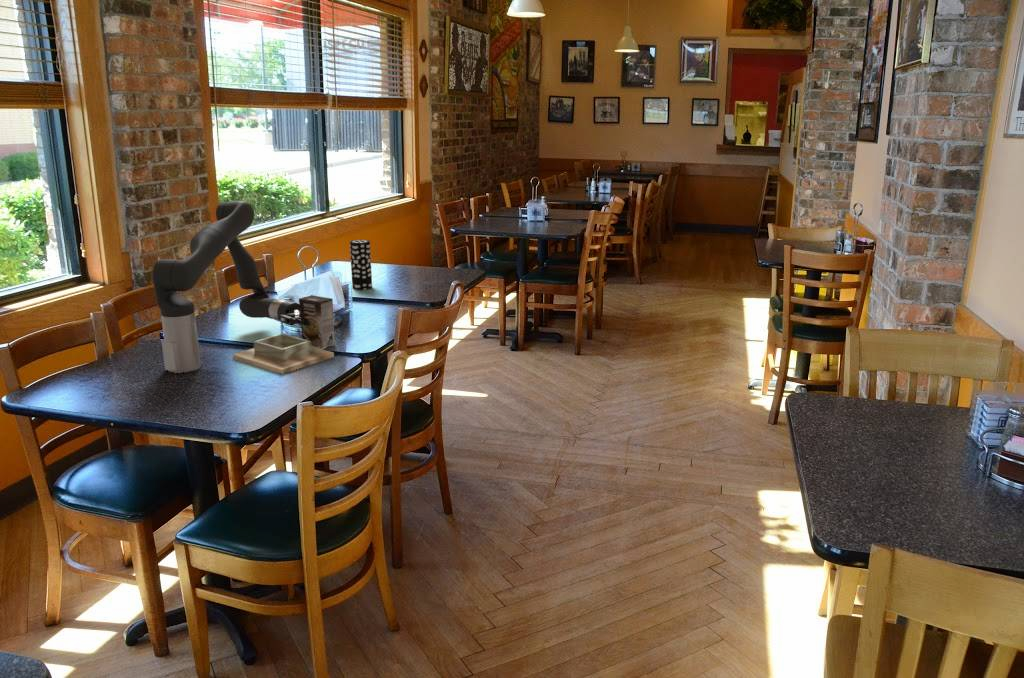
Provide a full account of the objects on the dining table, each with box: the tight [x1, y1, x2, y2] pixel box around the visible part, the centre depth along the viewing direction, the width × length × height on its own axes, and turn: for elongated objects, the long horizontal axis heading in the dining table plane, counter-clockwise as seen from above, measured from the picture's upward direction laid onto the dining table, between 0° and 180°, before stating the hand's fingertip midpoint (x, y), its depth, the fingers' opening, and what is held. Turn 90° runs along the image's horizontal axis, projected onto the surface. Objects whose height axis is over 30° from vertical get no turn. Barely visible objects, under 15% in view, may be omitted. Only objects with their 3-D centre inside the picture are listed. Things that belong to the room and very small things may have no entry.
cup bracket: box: [232, 333, 335, 375], centre depth 247 cm, size 20×24×6 cm
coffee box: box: [298, 294, 336, 348], centre depth 258 cm, size 9×6×16 cm
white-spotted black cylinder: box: [349, 239, 373, 291], centre depth 334 cm, size 8×8×20 cm
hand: (317, 319), depth 257 cm, fingers open, 8 cm apart
